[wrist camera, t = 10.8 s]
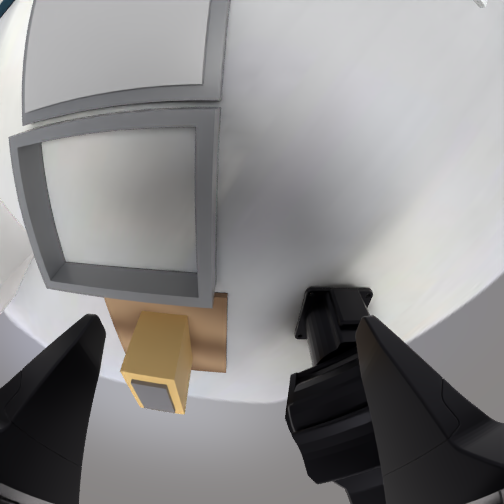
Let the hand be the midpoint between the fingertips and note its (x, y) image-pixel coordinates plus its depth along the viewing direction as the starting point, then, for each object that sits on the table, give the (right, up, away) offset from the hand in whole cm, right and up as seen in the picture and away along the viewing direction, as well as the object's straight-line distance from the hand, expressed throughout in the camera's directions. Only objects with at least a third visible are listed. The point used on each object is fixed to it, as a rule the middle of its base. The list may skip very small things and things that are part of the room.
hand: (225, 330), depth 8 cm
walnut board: (-8, -6, +18) cm, 20 cm away
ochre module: (-8, -6, +18) cm, 20 cm away
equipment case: (-9, +12, +6) cm, 17 cm away
